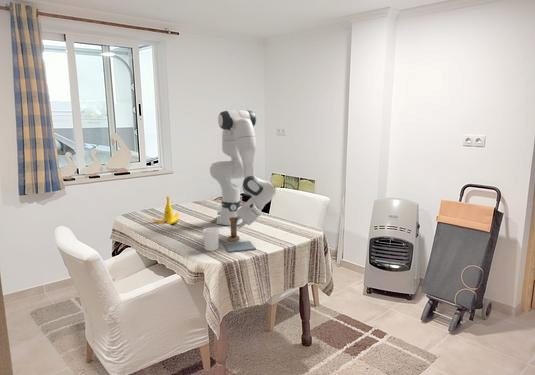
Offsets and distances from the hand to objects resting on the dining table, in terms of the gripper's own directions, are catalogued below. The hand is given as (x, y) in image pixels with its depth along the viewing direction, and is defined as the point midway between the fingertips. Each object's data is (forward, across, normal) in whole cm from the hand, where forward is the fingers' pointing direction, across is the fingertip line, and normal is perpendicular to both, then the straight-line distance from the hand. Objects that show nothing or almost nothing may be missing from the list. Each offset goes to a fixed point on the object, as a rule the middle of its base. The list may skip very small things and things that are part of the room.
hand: (236, 225), depth 213 cm
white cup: (+17, +11, -5) cm, 21 cm away
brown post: (+6, 0, +5) cm, 8 cm away
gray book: (+6, +13, +5) cm, 15 cm away
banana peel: (+28, -48, -16) cm, 58 cm away
